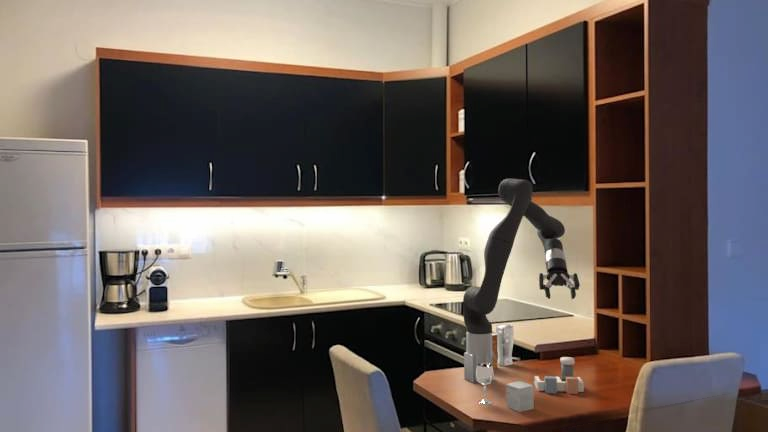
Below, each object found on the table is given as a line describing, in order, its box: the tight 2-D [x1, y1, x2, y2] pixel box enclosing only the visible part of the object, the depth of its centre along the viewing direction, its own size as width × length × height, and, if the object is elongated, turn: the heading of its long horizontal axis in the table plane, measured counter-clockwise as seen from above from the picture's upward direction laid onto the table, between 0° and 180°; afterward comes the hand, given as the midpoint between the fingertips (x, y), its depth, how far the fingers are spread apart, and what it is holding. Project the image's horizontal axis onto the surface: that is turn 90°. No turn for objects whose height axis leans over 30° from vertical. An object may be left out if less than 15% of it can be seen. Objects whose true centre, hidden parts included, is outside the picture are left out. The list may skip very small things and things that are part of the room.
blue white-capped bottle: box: [559, 356, 575, 382], centre depth 210 cm, size 5×5×10 cm
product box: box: [506, 380, 535, 413], centre depth 190 cm, size 6×6×7 cm
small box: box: [492, 332, 498, 370], centre depth 236 cm, size 8×6×13 cm
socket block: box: [533, 375, 585, 395], centre depth 209 cm, size 11×15×5 cm
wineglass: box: [476, 363, 495, 405], centre depth 196 cm, size 6×6×12 cm
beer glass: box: [495, 323, 515, 367], centre depth 240 cm, size 7×7×15 cm
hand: (561, 297), depth 223 cm, fingers open, 8 cm apart
